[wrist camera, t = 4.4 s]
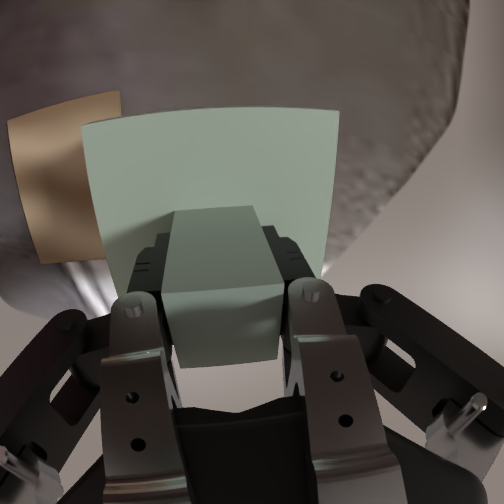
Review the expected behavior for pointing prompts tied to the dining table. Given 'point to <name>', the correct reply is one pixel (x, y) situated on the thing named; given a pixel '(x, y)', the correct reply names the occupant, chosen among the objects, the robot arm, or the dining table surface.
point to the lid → (214, 214)
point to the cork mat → (59, 176)
